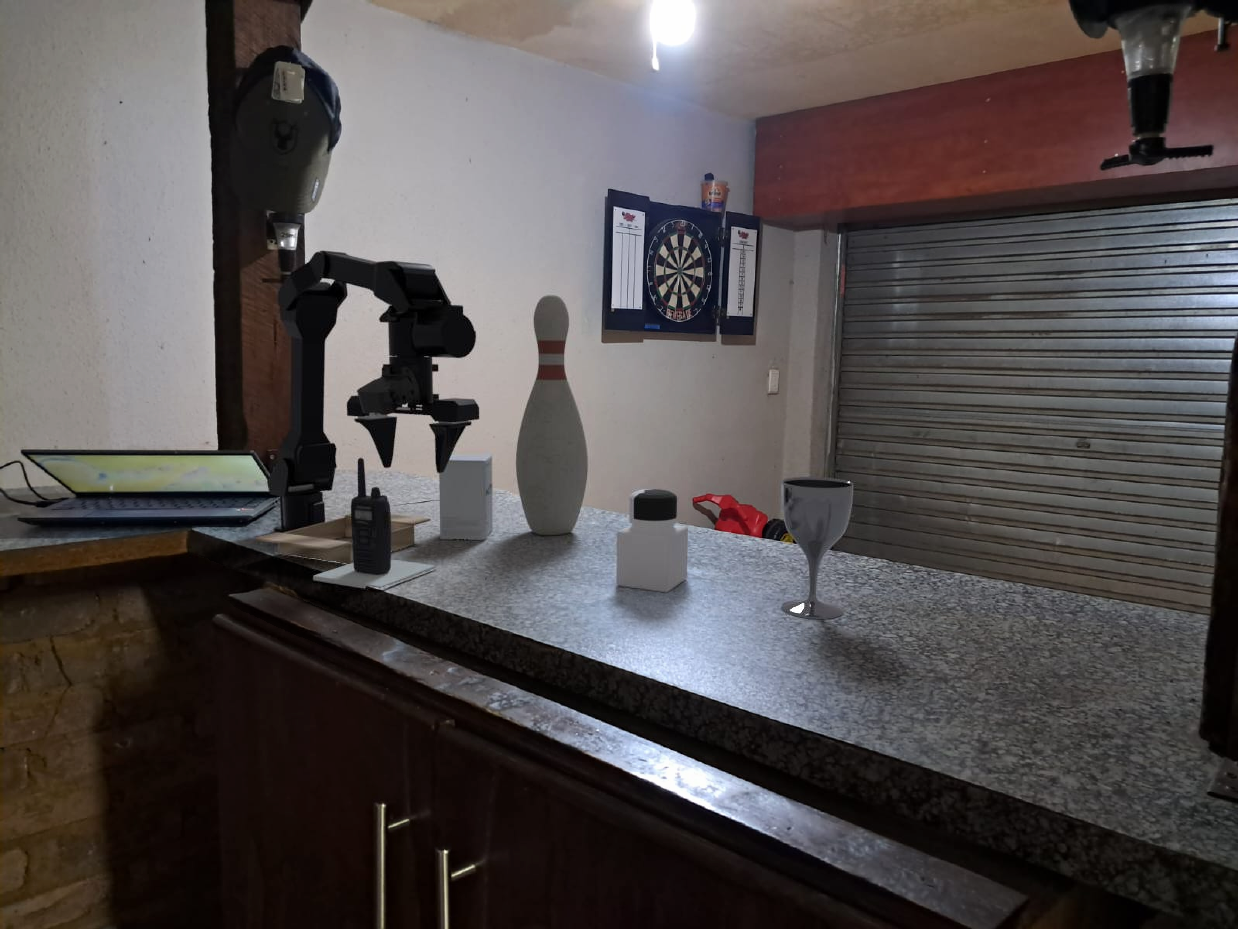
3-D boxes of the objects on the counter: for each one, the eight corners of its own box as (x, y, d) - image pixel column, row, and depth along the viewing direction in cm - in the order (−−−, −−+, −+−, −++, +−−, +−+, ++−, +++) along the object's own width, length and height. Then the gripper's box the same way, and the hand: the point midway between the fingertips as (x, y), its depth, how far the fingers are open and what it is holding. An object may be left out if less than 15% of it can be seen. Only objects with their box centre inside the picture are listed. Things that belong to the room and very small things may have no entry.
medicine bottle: (687, 579, 110) (689, 489, 108) (667, 593, 104) (669, 498, 102) (637, 572, 113) (638, 484, 111) (615, 586, 107) (616, 493, 105)
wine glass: (807, 624, 92) (813, 490, 90) (763, 604, 99) (767, 479, 97) (862, 614, 96) (868, 485, 94) (815, 595, 103) (821, 475, 101)
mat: (313, 580, 108) (313, 575, 108) (371, 560, 118) (371, 556, 118) (380, 591, 103) (380, 586, 103) (435, 570, 113) (435, 565, 113)
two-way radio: (347, 572, 110) (342, 458, 108) (369, 564, 114) (366, 454, 112) (381, 576, 108) (377, 461, 105) (403, 568, 112) (400, 456, 109)
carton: (255, 561, 117) (254, 537, 117) (362, 530, 137) (362, 510, 136) (330, 572, 112) (329, 548, 111) (430, 539, 131) (430, 518, 131)
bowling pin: (534, 543, 129) (533, 291, 124) (506, 528, 139) (504, 295, 134) (598, 535, 135) (599, 294, 129) (567, 522, 145) (567, 297, 139)
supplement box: (486, 540, 131) (485, 460, 129) (439, 540, 131) (437, 459, 129) (494, 530, 138) (493, 454, 136) (449, 529, 138) (447, 453, 136)
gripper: (314, 356, 111) (319, 472, 113) (428, 358, 103) (431, 484, 105) (373, 355, 121) (376, 462, 123) (481, 357, 113) (482, 472, 115)
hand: (413, 470), depth 116 cm, fingers open, 9 cm apart
